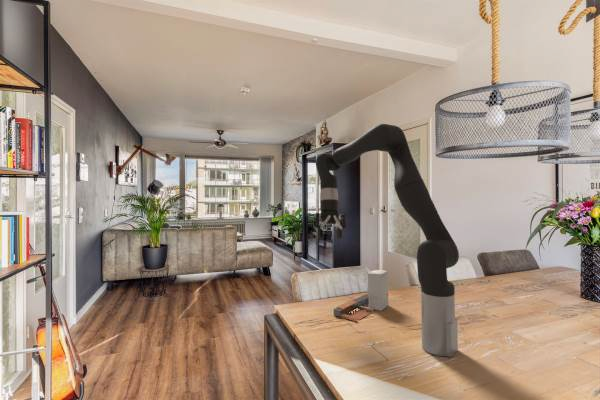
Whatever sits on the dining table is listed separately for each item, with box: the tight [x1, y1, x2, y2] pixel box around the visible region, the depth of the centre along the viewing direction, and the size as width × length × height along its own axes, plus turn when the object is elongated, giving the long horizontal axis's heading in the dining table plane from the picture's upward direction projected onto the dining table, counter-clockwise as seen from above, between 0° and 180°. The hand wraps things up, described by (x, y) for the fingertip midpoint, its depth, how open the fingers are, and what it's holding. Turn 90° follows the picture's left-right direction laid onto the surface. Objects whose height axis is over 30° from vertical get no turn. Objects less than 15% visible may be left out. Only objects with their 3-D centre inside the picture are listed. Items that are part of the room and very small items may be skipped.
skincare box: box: [367, 269, 389, 312], centre depth 131 cm, size 8×6×15 cm
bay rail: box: [333, 293, 374, 323], centre depth 128 cm, size 25×10×3 cm, turn 137°
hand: (330, 238), depth 129 cm, fingers open, 8 cm apart
